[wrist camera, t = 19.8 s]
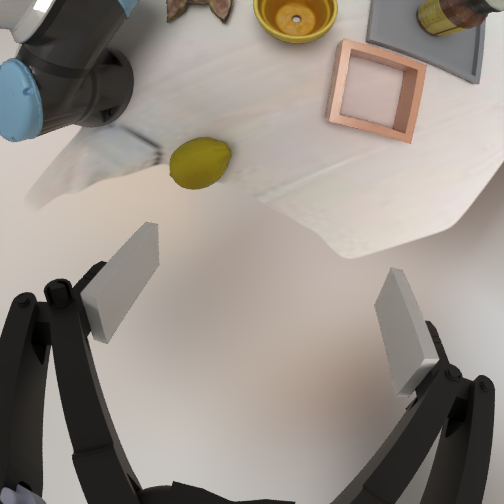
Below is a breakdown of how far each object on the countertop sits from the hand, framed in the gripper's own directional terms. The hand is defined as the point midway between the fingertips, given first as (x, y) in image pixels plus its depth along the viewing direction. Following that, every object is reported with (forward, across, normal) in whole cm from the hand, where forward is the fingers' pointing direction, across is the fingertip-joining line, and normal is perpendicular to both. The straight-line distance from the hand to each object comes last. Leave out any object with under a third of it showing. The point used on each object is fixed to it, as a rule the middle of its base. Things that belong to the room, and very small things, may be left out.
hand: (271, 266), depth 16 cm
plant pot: (+35, -2, +21) cm, 41 cm away
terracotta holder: (+35, +11, +12) cm, 38 cm away
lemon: (+35, -13, -4) cm, 37 cm away
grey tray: (+35, +19, +28) cm, 48 cm away
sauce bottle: (+34, +19, +28) cm, 48 cm away
